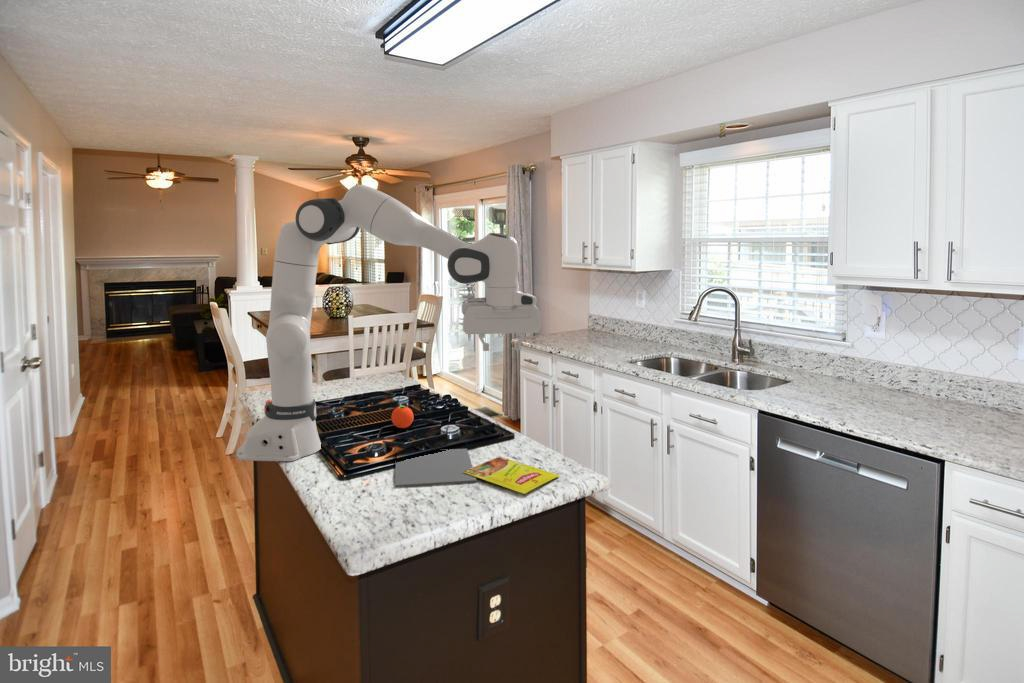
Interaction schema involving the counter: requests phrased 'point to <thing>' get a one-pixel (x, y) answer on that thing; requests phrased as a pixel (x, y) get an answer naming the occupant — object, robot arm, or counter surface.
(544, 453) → the counter surface
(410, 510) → the counter surface
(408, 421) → the clementine
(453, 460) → the mat
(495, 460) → the food package
